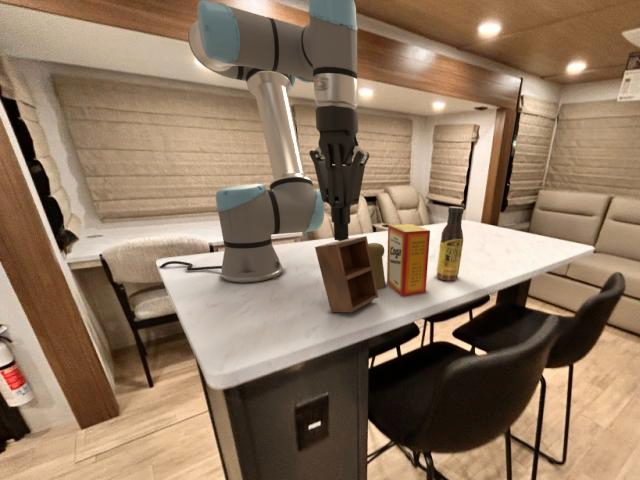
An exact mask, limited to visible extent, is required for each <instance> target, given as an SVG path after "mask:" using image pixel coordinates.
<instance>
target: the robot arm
mask: <svg viewBox="0 0 640 480" xmlns="http://www.w3.org/2000/svg"><path fill="white" fill-rule="evenodd" d="M196 8H197V9H196V10H197V12H196V14H197V16H196V17H197V20H196V21H194V22H193V23H192V25H191V26H190V27H189V29H188V33H187V34H188V36H187V40H188V45H189V48H190V51H191V53H192V54H193V56H194V57H195V59H196V60H197V61H198V62H199V63H200V64H201V65H202V66H203V67H205V68H206V69H208V70H209V71H211V72H213V73H215V74H218V75H220V76H222V77H225V78H229V79H233V80H238V81H243V82H246V87H247V90H248V91H249V92H250V94H252V95H253V96H254V97H255V100H256V104H257V109H258V112H259V118H260V122H261V127H262V131H263V136H264V140H265V141H264V142H265V145H266V149H267V154H268V159H269V164H270V169H271V172H272V177H273V179H272V181H271V182H270V183H269V189H267V188H266V186H265V185H264V184H262V183H251V184H249V183H248V184H241V185H233V186H228V187H227V186H226V187H223V188H221V189H218V190H217V191H216V193H215V201H216V212H218V213H217V214H218V218H219V224H220V229H221V235H222V240H223V246H224V252H223V258H222V265H212V266H211V265H209V266H198V267H197V266H196V267H193V263H192V262H187V261H181V260H170V261H166V262H164V263H162V264H161V265H160V267H159V268H160V269H163V268H165V267H166V266H168V265H184V266H187V267H186V269H187V270H188V271H189V272H193V271H194V272H195V271H203V270H220V269H221V276H222V279H223V280H225V281H228V282H232V283H240V284H245V283H247V284H248V283H257V282H258V283H260V282H264V281H269V280H272V279H275V278H277V277H279V276H281V275H282V273H283V266H282V263H281V260H280V258H279V256H278V254H277V252H276V250H275V248H274V246H273V241H272V235H285V234H286V235H287V234H298V233H304V234H306V233H308V232H316V231H318V230H319V229H321V227H322V226H323V223H324V219H325V212H326V211H325V209H326V205H325V203H326V204H328V205H329V207H330V216H331V219H330V220H331V222H332V223H333V235H334V236H333V237H334V238H333V239H334V241H342V240H346V239H349V238H350V237H349V224H351V207H353V206H355V205H358V204H359V202H360V197H361V192H362V185H363V179H364V175H365V174H364V173H365V168H366V165H367V163H368V161H369V158H370V152H369V151H364V150H363V149H362V148H361V147H360V146H359V140H358V137H357V134H358V133H359V111H357V110H356V108H357V107H358V106H359V88H358V87H359V83H358V31H359V28H358V24H357V7H356V3H355V0H308V12H307V14H308V15H307V16H308V17H309V23H307V24H306V25H305V26H302V25H299V24H295V23H291V22H288V21H285V20H281V19H277V18H273V17H269V16H264V15H261V14H257V13H253V12H250V11H247V10H244V9H240V8H237V7H233V6H230V5H227V4H226V3H223V2H216V1H215V2H214V1H210V0H199V2H197V7H196ZM296 79H297V80H298V81H300V82H303V83H307V84H308V83H309V84H311V83H313V91H314V104H316V105H317V107H316V109H315V110H314V111H315V127H316V130H317V132H318V133H319V138H318V146H316V148H315V149H314V150H313V149H311V150H310V151H309V152H308V153H309V157H310V159H311V161H312V163H313V166H314V170H315V174H316V178H317V183H318V187H319V189H318V188H315V187H314V184H313V181H312V179H311V178H309V176H307V175H306V172H305V167H304V164H303V163H304V161H303V160H302V159H303V157H302V154H301V153H302V152H301V150H300V149H301V148H300V144H299V140H298V136H297V135H298V134H297V131H296V126H295V121H294V116H293V112H292V107H291V103H290V97H289V95H290V94H291V92H292V89H293V87H294V85H295V84H296V83H295V82H296Z"/></svg>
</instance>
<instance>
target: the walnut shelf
mask: <svg viewBox="0 0 640 480" xmlns="http://www.w3.org/2000/svg"><path fill="white" fill-rule="evenodd" d="M348 238H349V239H346V240H342V241H338V240H336V241H332V242H330V243H325V244H321V245H317V246H315V247H314V249H315V254H316V258H317V262H318V266H319V270H320V274H321V277H322V281H323V285H324V286H323V287H324V290H325V294H326V298H327V302H328V306H329V310H330V312H332V313H353V312H355V311H356V310H358V309H360V308H362V307H364V306H365V305H368V304H369V303H370V302H373V301H375V300H376V299H378V298H379V297H380V296H379V292H378V289H377V286H376V281H375V276H374V271H373V266H372V261H371V256H370V251H369V246H368V244H369V241H368V236H366V235H365V236H358V237H348Z"/></svg>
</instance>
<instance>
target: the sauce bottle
mask: <svg viewBox="0 0 640 480" xmlns="http://www.w3.org/2000/svg"><path fill="white" fill-rule="evenodd" d="M464 210H465V208H464V207H463V206H448V209H447V212H448V215H447V216H448V217H447V220H446V225H445V226H444V227H443V228H442V229H443V230H442V231H441V238H440V241H439V249H438V259H437V267H436V277H437V279H439V280H442V281H451V282H452V281H455V280H457V279H458V275H459V273H460V267H461V258H462V252H463V247H464V246H463V245H464V234H463V229H462V223H463V222H462V221H463V214H464Z"/></svg>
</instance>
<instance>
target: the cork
mask: <svg viewBox="0 0 640 480" xmlns="http://www.w3.org/2000/svg"><path fill="white" fill-rule="evenodd" d="M368 246H369V251H370V256H371V261H372V266H373V271H374V276H375V281H376V286H377V290H378V289H383V288H384V287H385V286H386V278H385V277H386V276H385V269H384V261H383V257H384V256H385V255H384V254H385V247H384V246H383V244H381V243H378V242H370V243H369V242H368Z"/></svg>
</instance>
